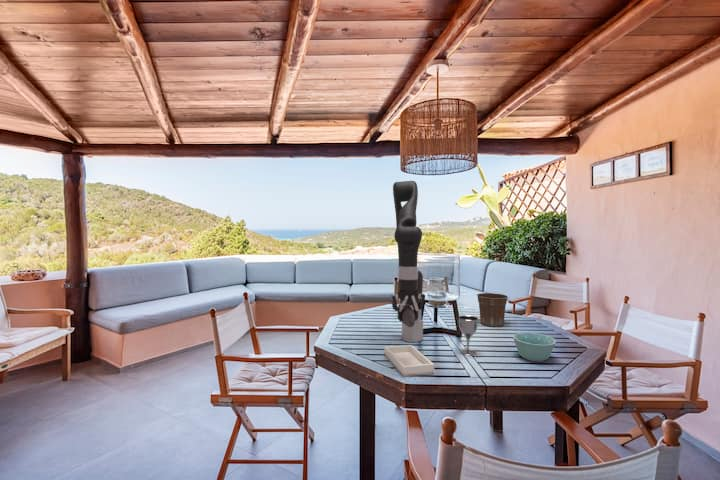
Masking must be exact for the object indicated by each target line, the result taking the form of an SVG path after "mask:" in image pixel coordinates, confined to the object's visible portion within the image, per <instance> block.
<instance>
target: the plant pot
mask: <svg viewBox="0 0 720 480" xmlns="http://www.w3.org/2000/svg"><path fill="white" fill-rule="evenodd" d="M508 296H509V295H506V294H501V293H492V292H491V293H490V292H480V293H477V294H476V297H477V303H478V308H479V319H480V320H479V321H480V324H481V325H484V326H487V327H492V328H496V327H498V328H499V327H503V326H504V324H505V316H506V314H505V313H506V305H507V303H508V298H509V297H508Z"/></svg>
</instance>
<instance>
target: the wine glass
mask: <svg viewBox="0 0 720 480" xmlns="http://www.w3.org/2000/svg"><path fill="white" fill-rule="evenodd" d="M478 325H479V318H478V317H477V316H475V315H459V316H458V326H459V331H460V332H461V333H462V335H463V336H464V337H465V340H466V349H460V350H459V354H461V355H465V356H475V355H477V354H478V353H477V352H476V351H475V350H473V349H470V341H471V338H472V337H473V336H474V335H475V334H476V332H477V331H478V327H479V326H478Z"/></svg>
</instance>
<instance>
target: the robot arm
mask: <svg viewBox="0 0 720 480" xmlns="http://www.w3.org/2000/svg"><path fill="white" fill-rule="evenodd" d="M392 195H393V202H394V209H395V210H394V211H395V220H396V222H395V223H396V224H395V225H396V229H395V231H394V235H393V236H394V240H395V243H397V249H398V250H397V251H398V252H397V253H398V274H397V275H398V277H397V278H398V280H397V282H398V283H397V284H398V285H397V287H398V288H397V289H398V292H397V293H396V294H391V295H390V301H391V306H392V309H393V310H394V311H395V312H397V320H398V321H399V322H401V340H402V341H404V342H407V343H418V342H421V341H424V320H423V319H422V310H423V309H424V304H425V299H426V294H424V293H423V284H424V278H423V273H422V271H420V270H418V254H419V248H420V245H421V242H422V241H421V240H422V238H423V231H422V229H421V228H420V227H419V226H417V207H418V198H419V196H418V195H419V191H418V183H417V182H416V181H415V180H404V181H395V182H394V183H393V185H392ZM404 202H405V204H404V205H402V203H404ZM398 298H399V302H398V304H397V300H398ZM405 304H408V305H409V306H411V308H412V309H413V311H414V314H415V324H414V326H413V327H408V326H406V325H405V324H404V323H403V322H402V321H403V318H402V315H403V312H402V310H403V307H404V306H405Z"/></svg>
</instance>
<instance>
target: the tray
mask: <svg viewBox="0 0 720 480" xmlns="http://www.w3.org/2000/svg"><path fill="white" fill-rule="evenodd" d="M384 357H386V359H387V360H388V361H389V363H391V364H392V367H394V368H395V370H396V371H398V372H399V374H400V375H401V376H402V378H406V377H407V378H408V377H415V376H417V377H418V376H427V375H435V363H434V362H432V361H431V360H430V359H428V358H427V356H425V355H424V354H423V353H421V351H419V350H418V349H417V348H416V347H414V346H413V345H412V344H405V345H395V346H384Z"/></svg>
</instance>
